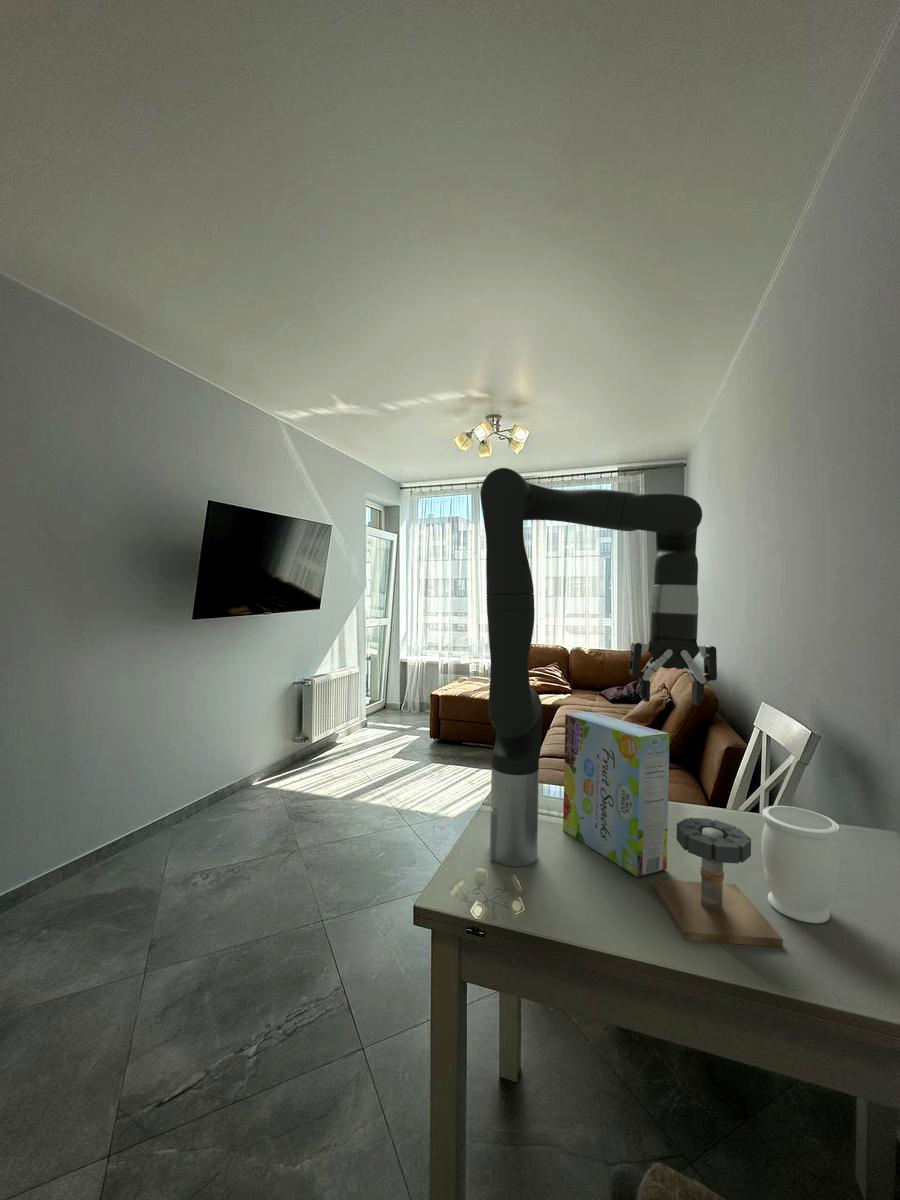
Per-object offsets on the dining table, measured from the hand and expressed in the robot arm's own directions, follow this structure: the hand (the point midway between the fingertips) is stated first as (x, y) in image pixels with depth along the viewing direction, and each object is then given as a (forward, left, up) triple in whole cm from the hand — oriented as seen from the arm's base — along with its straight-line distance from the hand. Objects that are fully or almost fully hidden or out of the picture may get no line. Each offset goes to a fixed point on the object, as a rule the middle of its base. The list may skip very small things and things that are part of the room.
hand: (670, 702), depth 88 cm
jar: (+19, -5, -33) cm, 38 cm away
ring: (+4, -8, -22) cm, 23 cm away
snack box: (-7, +12, -33) cm, 36 cm away
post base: (+4, -8, -32) cm, 33 cm away
